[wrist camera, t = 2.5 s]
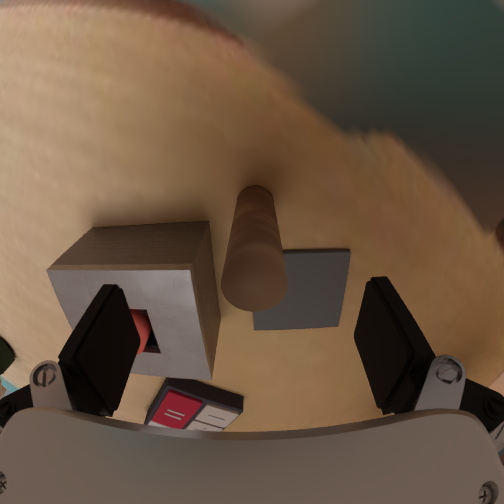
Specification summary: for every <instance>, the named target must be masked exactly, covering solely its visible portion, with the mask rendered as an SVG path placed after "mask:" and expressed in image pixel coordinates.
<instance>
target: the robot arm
mask: <svg viewBox="0 0 504 504" xmlns="http://www.w3.org/2000/svg"><path fill="white" fill-rule="evenodd" d="M354 340H355V343H356V346H357V349H358V351H359V354H360V357H361V360H362V363H363V366H364V369H365V372H366V375H367V378H368V381H369V384H370V387H371V390H372V393H373V396H374V399H375V402H376V405H377V407H378V408H381V409H382V412H383V415H386V414H395V415H391V416H387V417H382V418H377V419H372V420H366V421H361V422H355V423H348V424H342V425H335V426H328V427H320V428H311V429H300V430H286V431H267V432H219V431H199V430H186V429H175V428H166V427H158V426H151V425H144V424H138V423H132V422H126V421H121V420H115V419H110V418H105V417H100V416H99V415H104V416H109V417H112V416H113V413H114V411H116V410H117V409H118V407H119V404H120V401H121V398H122V395H123V392H124V389H125V386H126V383H127V380H128V377H129V374H130V372H131V369H132V366H133V363H134V360H135V358H136V355H137V352H138V350H139V347H140V343H141V339H140V335H139V333H138V330H137V328H136V325H135V322H134V320H133V317H132V314H131V311H130V309H129V306H128V303H127V300H126V297H125V294H124V291H123V289H122V288H120V287H119V286H118V285H117V284H103V285H102V287H101V288H100V290H99V291H98V293H97V294H96V296H95V297H94V299H93V300H92V302H91V303H90V305H89V306H88V308H87V309H86V311H85V313H84V314H83V316H82V317H81V319H80V320H79V322H78V324H77V325H76V327H75V329H74V330H73V332H72V334H71V335H70V337H69V339H68V340H67V342H66V344H65V345H64V347H63V349H62V351H61V352H60V354H59V356H58V358H59V359H60V360H59V362H58V364H57V363H56V362H54V361H52V360H47V361H43V362H41V363H39V364H38V365H37V366H36V367H34V369H33V370H32V372H31V374H30V380H29V382H30V384H29V385H27V386H25V387H23V388H21V389H19V390H17V391H15V392H13V393H11V394H9V395H7V396H5V397H3V398H2V399H0V504H504V397H503V396H502V395H501V394H500V393H498V392H496V391H494V390H491V389H489V388H487V387H485V386H482V385H480V384H478V383H476V382H473V381H471V380H469V379H467V378H466V371H465V367H464V366H463V364H462V363H461V362H460V361H459V360H458V359H457V358H455V357H453V356H449V355H440V356H437V357H436V356H435V354H434V352H433V351H432V349H431V347H430V345H429V343H428V342H427V340H426V338H425V336H424V335H423V333H422V331H421V329H420V328H419V326H418V324H417V323H416V321H415V319H414V318H413V316H412V314H411V313H410V311H409V310H408V308H407V307H406V305H405V304H404V302H403V300H402V299H401V297H400V296H399V294H398V293H397V291H396V290H395V288H394V287H393V285H392V283H391V282H390V280H389V279H388V278H387V277H386V276H382V277H372V278H371V280H370V281H368V282H367V283H366V287H365V291H364V296H363V300H362V304H361V308H360V312H359V316H358V320H357V324H356V328H355V332H354Z"/></svg>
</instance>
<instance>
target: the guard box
mask: <svg viewBox="0 0 504 504" xmlns="http://www.w3.org/2000/svg"><path fill="white" fill-rule="evenodd" d="M46 271H47V273H48V276H49V278H50V281H51V284H52V286H53V288H54V291H55V293H56V296H57V298H58V300H59V303H60V305H61V307H62V309H63V311H64V314H65V316H66V318H67V320H68V322H69V324H70V326H71V328H72V330H74V329H75V327H76V325H77V324H78V322H79V320H80V319H81V317H82V316H83V314H84V313H85V311H86V309H87V308H88V306H89V305H90V303H91V302H92V300H93V299H94V297H95V296H96V294H97V293H98V291H99V290H100V288H101V287H102V285H103V284H117V285H118V286H119V287H120V288H122V289H123V291H124V294H125V297H126V300H127V303H128V306H129V309H147V313H148V316H149V319H150V322H151V325H152V330H151V332H150V335H149V337H148V340H147V342H146V345H145V347H144V350H143V351H142V353H140V354H138V355H136V358H135V360H134V363H133V366H132V369H131V372H130V373H133V374H141V375H150V376H160V377H170V378H183V379H200V380H212V375H213V368H214V361H215V354H216V347H217V341H218V334H219V327H220V321H221V319H220V311H219V304H218V296H217V288H216V280H215V272H214V263H213V254H212V245H211V236H210V226H209V221H205V222H183V223H163V224H145V225H129V226H114V227H101V228H91V229H90V230H89V231H88V232H87V233H86V234H84V235H83V236H82V237H81V238H80V239H79V240H78V241H77V242H75V243H74V244H73V245H72V246H71V247H70V248H69V249H68V250H67V251H66V252H65V253H63V254H62V255H61V256H60V257H59V258H58V259H57V260H56V261H55V262H54V263H53V264H52V265H51V266H50V267H49V268H48V269H47V270H46Z"/></svg>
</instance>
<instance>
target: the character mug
mask: <svg viewBox="0 0 504 504" xmlns="http://www.w3.org/2000/svg"><path fill="white" fill-rule="evenodd" d="M14 360H15V358H14V356H13V354H12V352H11V351H10V349H9V348H8V346H7V345H6V344H5V343H4V342H3V341H2V340H1V339H0V375H1V374H3V373H4V372H5V371H6V370H7V369H8V367H9V366H10V365H11V364H12V363H13V361H14ZM5 390H6V389H5V388H4V387H3V386H2V385H1V379H0V399H2V397H3V395H4V393H5Z"/></svg>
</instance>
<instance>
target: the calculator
mask: <svg viewBox="0 0 504 504" xmlns="http://www.w3.org/2000/svg"><path fill="white" fill-rule="evenodd" d="M242 412H243V396H241V395H238V394H234V393H231V392H228V391H225V390H222V389H219V388H216V387H213V386H210V385H207V384H204V383H201V382H199V381H196V380H193V379H183V378H170V377H167V378H166V380H165V381H164V383H163V385H162V387H161V389H160V390H159V392H158V394H157V396H156V398H155V399H154V401H153V403H152V404H151V406H150V407H149V409H148V411H147V415H146V418H145V422H144V425H151V426H158V427H166V428H175V429H186V430H199V431H219V432H221V431H223V430H224V429H225V428H226V427H227V426H228V425H229V424H230V423H231V422H233V421H234V420H235V419H236V418H237V417H238V416H239V415H240V414H241V413H242Z"/></svg>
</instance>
